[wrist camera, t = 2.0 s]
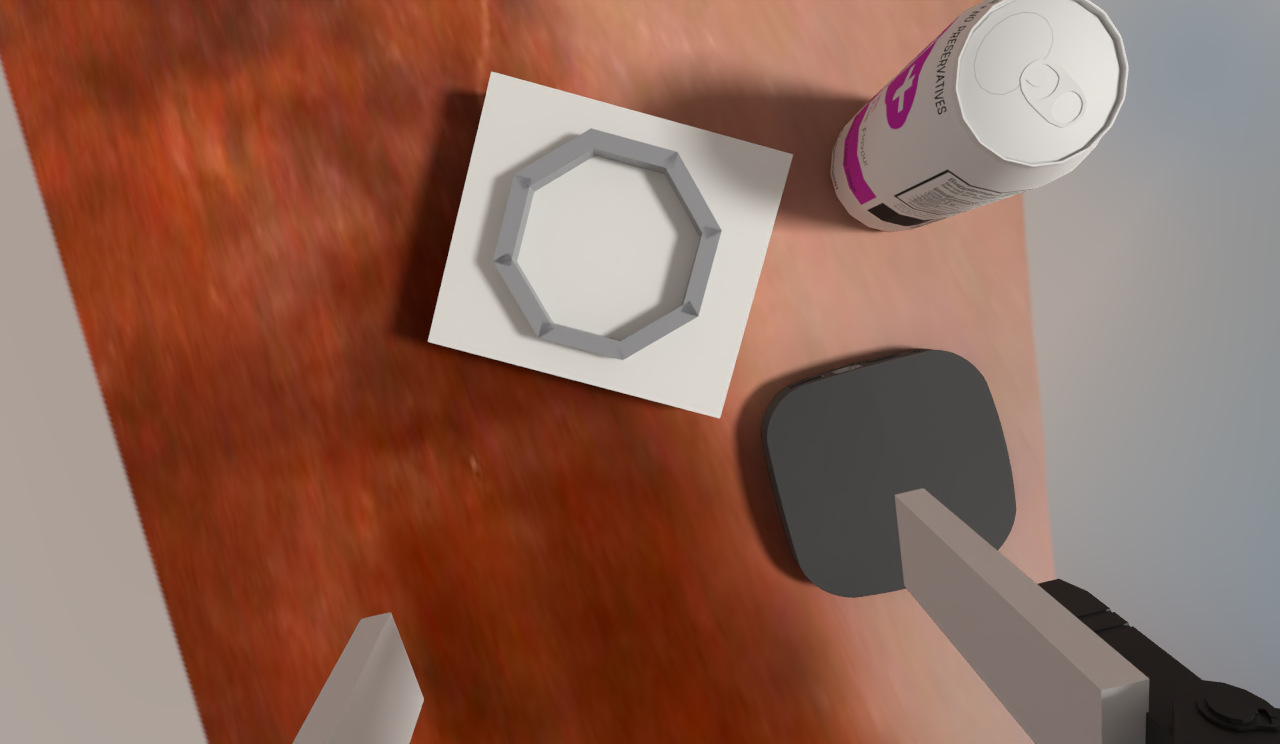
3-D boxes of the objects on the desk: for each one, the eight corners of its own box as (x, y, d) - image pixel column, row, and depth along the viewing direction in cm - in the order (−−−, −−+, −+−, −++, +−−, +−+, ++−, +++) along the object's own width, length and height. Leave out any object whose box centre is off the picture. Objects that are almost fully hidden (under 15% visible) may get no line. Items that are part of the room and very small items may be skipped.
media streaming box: (800, 595, 43) (812, 616, 40) (746, 392, 41) (754, 398, 38) (1006, 539, 42) (1034, 556, 39) (958, 334, 41) (983, 335, 38)
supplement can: (800, 172, 40) (898, 84, 25) (890, 75, 39) (1045, -74, 24) (889, 259, 40) (1038, 224, 25) (980, 165, 40) (1185, 71, 25)
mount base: (777, 171, 40) (800, 147, 34) (711, 408, 41) (723, 422, 36) (506, 96, 39) (484, 60, 34) (448, 339, 41) (418, 342, 35)
